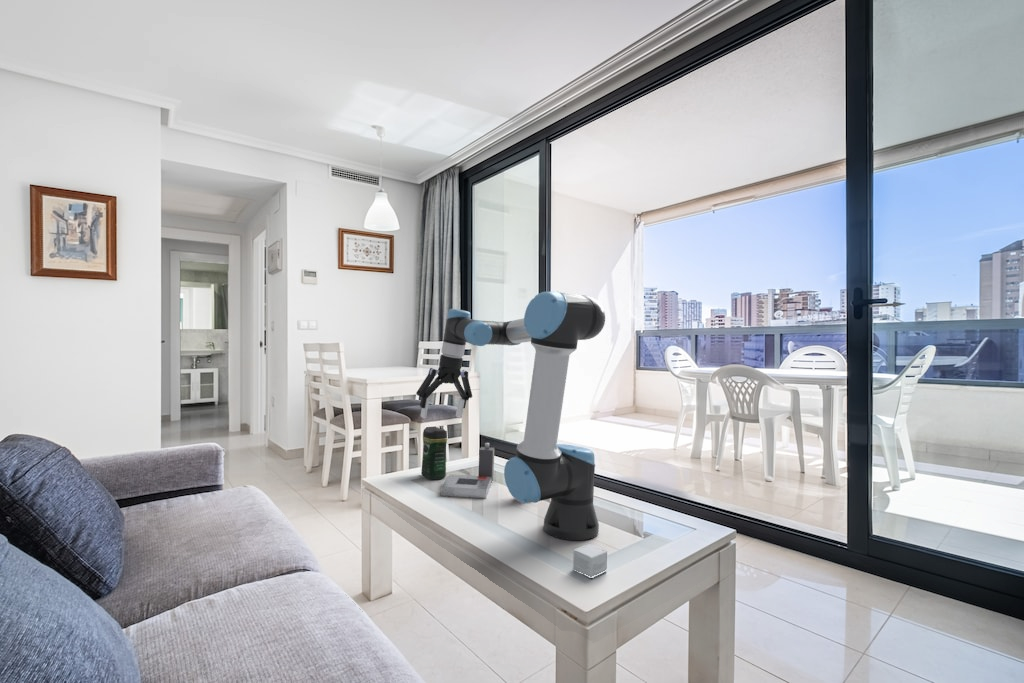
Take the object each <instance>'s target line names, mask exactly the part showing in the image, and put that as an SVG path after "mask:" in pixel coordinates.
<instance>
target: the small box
mask: <svg viewBox="0 0 1024 683" xmlns="http://www.w3.org/2000/svg"><path fill="white" fill-rule="evenodd" d="M572 554H573V556H572V560H573V561H572V570H573V569H574V570H576V571H578V572H581V573H583V574H586V575H588V576H590V577H592V576H594V575H597V574H599V573H601V572H603V571H605V570H606V569H607V568H608V551H607V550H605V549H602V548H600V547H598V546H595V545H592V544H589V543H588V544H585V545H582V546H580V547H577V548H574V549H573V552H572ZM607 570H608V569H607Z"/></svg>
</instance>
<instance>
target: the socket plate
mask: <svg viewBox="0 0 1024 683" xmlns="http://www.w3.org/2000/svg"><path fill="white" fill-rule="evenodd" d="M491 478H492V477H487V476H478V475H466V474H465V475H463V474H449V476H447V478H446V479H445V481H444V482H443V484H442V485H441V487H440V497H451V498H452V497H453V496H454V498H455V497H456V498H457V497H458V498H469V497H471V498H472V499H487V498H488V495H489V492H490V490H489V489H491V486H492V484H491Z"/></svg>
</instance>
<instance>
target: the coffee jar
mask: <svg viewBox="0 0 1024 683" xmlns="http://www.w3.org/2000/svg"><path fill="white" fill-rule="evenodd" d="M447 441H448V431H447V430H445V429H443V428H440V427H437V426H426V427H425V428H424V429H423V432H422V443H423V444H422V461H421V476H422V477H423V478H426V479H428V480H436V481H437V480H441V479H444V478H445V477H446V475H447Z"/></svg>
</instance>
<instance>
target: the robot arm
mask: <svg viewBox="0 0 1024 683" xmlns="http://www.w3.org/2000/svg"><path fill="white" fill-rule="evenodd" d="M604 309H605V308H603V306H602V304H601V303H600V302H599V301H598V299H597V300H596V299H595V298H593V297H591V296H589V295H582V294H581V295H580V294H575V293H566V292H561V291H560V292H559V291H541V292H540V293H538V294H536V295H535V296H534V297H533V298H532V299H531V300H530V301H529V303H528V304H527V306H526V309H525V311H524V312H525V313H524V318H519V319H515V320H514V319H513V320H509V321H493V320H492V321H491V320H490V321H489V320H478V319H472V318H471V312H470V311H467V310H464V309H457V308H450V309H449V310H448V312H447V318H446V320H445V328H444V333H443V340H442V345H441V346H442V347H441V353H442V354H440V356H439V357H440V358H439V363H438V366H439V367H438V369H436V368H433V367H430V368H429V370H428V373H427V376H426V377H425V379H424V380H423V382H422V383H421V385H420V386H419V388H418V390H417V391H416V393H415V394H416V395H417V396H419V397H420V404H419V407H420V408H421V411H420V414H419V416H420V417H421V418H422V419H424V420H425V419H426V420H427V415H428V409H429V405H430V404H429V403H430V396H431V395H432V394H433V393H434V392H435V391H436V390H437V389H438V388H439V386H442V385H443V383H444V384H453V385H454V387H455V388H456V391H457V392H458V394H459V395H460V397H458V400H457V406H456V407H457V408H456V412H455V417H456V418H458V419H462V416H463V412H464V409H465V408H466V405H467V404H466V403H467V401H469V399H472V398H473V393H472V390H471V385H470V381H469V371H467V370H465V369H463V370H461V369H462V368H463V367H462V366H463V361H464V358H463V357H464V355H465V350H466V345H467V344H469V345H471V346H478V347H484V346H486V345H491V346H492V345H499V346H500V345H501V346H519V345H521V343H530V345H531V346H532V347H533V348H534V349H535V355H534V362H533V369H532V376H531V385H530V390H529V391H530V393H529V399H528V405H527V411H526V412H527V413H526V414H527V415H526V420H525V429H524V437H523V440H522V441H521V442H519V443H517V446H516V453H515V456H514V457H510V458H509V459H508V461H506V462H505V465H504V468H503V469H504V472H503V474H504V476H503V477H504V481H505V485H506V487H507V489H508V492H509V494H511V496H512V497H513V498H514V499H515V500H516V501H517V502H519V503H521V504H529V503H530V504H531V503H534V504H536V503H538V502H540V501H545V500H550V502H549V506H548V507H547V511H546V514H545V515H544V519H543V530H544V531H545V532H546V533H547V534H548V535H550V536H553V537H555V538H557V539H562V540H568V541H587V540H591V539H593V537H594V538H595V536H596V537H597V536H598V535H599V533H598V532H599V528H600V527H599V526H600V525H599V519H598V516H597V513H596V509H595V506H594V492H595V491H594V490H595V489H594V488H595V468H596V463H595V459H596V458H595V453H594V452H593V450H591V449H589V448H586V447H584V446H577V445H571V444H566V443H565V444H562V443H558V440H559V439H558V437H559V430H560V424H561V416H562V409H563V404H564V397H565V396H564V395H565V390H566V389H565V388H566V383H567V382H566V380H567V374H568V367H569V362H570V356H571V354H573V352H575V351H576V350H577V347H578V342H579V341H586V340H591V339H593V338H595V337H596V336H598V335H599V334H600V333H601V332H602V330H603V329H604V326H605V324H606V313H605V310H604ZM466 343H467V344H466ZM459 377H461V381H462V384H461V381H460V380H459ZM597 534H598V535H597ZM590 538H591V539H590ZM585 539H586V540H585Z"/></svg>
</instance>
